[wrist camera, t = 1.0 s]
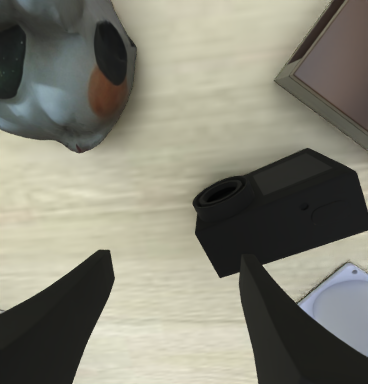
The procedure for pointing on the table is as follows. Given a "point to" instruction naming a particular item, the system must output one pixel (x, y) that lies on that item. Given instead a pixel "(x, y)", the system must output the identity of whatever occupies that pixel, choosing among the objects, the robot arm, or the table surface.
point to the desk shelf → (334, 68)
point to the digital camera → (279, 210)
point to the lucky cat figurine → (63, 70)
